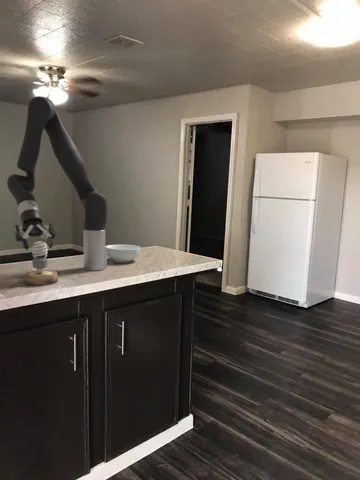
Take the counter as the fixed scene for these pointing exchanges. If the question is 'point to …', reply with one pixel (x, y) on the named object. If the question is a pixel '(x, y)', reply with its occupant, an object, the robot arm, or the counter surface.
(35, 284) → the bulb stand
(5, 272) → the counter surface
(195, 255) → the counter surface
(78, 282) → the counter surface
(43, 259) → the light bulb
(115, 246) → the cereal bowl
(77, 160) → the robot arm
